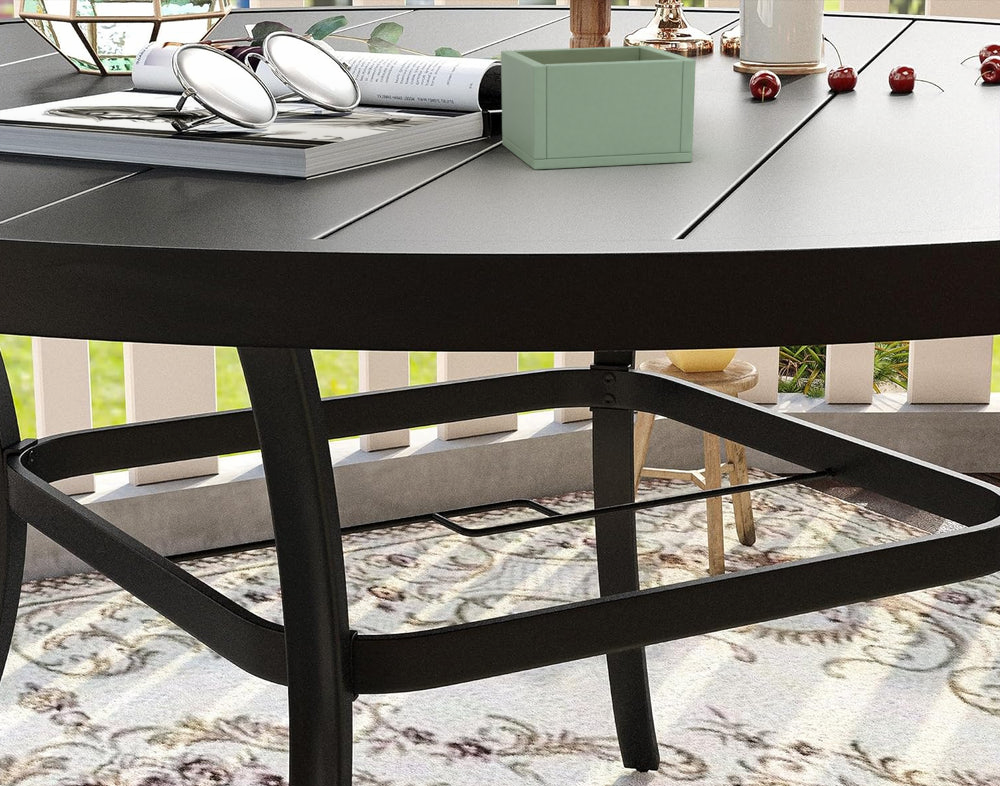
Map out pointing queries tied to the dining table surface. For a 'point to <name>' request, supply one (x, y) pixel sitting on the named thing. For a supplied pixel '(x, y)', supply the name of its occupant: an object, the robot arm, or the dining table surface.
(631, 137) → the holder
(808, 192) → the dining table surface
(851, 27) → the dining table surface
